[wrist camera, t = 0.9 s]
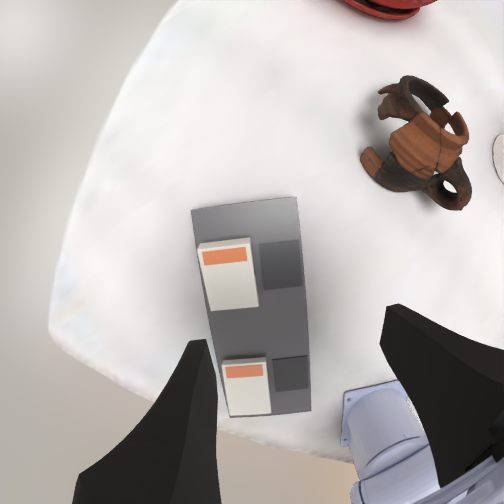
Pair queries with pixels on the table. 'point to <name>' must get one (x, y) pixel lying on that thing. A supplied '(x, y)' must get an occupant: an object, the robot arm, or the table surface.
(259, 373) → the block
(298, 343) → the power strip
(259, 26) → the table surface
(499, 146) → the water bottle
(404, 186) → the pottery mug
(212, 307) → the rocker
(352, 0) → the plant pot
